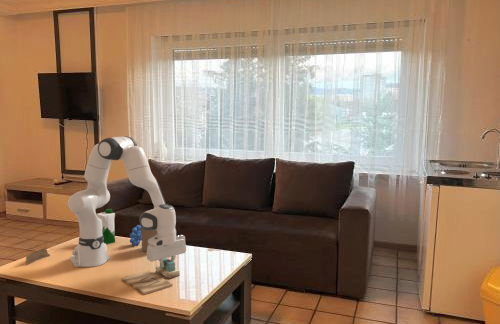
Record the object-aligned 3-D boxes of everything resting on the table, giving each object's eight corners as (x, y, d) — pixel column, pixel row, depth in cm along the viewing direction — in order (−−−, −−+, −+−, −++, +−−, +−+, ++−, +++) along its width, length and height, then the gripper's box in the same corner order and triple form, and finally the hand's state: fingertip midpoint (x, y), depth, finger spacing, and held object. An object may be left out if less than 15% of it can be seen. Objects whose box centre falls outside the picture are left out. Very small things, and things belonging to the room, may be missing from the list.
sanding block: (155, 271, 205) (155, 258, 205) (166, 268, 209) (166, 256, 209) (168, 278, 197) (168, 265, 196) (179, 275, 201) (179, 262, 200)
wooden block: (157, 253, 233) (156, 218, 231) (141, 252, 235) (140, 217, 233) (164, 247, 243) (164, 214, 240) (148, 246, 245) (148, 213, 242)
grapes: (138, 241, 254) (137, 222, 253) (146, 242, 252) (146, 223, 250) (124, 246, 244) (124, 226, 243) (133, 248, 241) (133, 228, 240)
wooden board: (121, 279, 195) (121, 277, 195) (148, 272, 205) (148, 270, 205) (144, 294, 179) (144, 292, 179) (172, 285, 189) (172, 283, 189)
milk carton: (117, 242, 253) (116, 209, 250) (103, 245, 246) (102, 212, 244) (109, 239, 258) (108, 207, 256) (96, 242, 251) (94, 210, 249)
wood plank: (28, 265, 213) (28, 256, 213) (25, 265, 214) (24, 256, 213) (49, 256, 228) (49, 247, 228) (46, 255, 229) (46, 246, 228)
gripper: (181, 232, 210) (181, 259, 212) (144, 240, 196) (145, 269, 198) (188, 235, 206) (188, 262, 207) (151, 243, 192) (152, 272, 193)
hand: (167, 265), depth 203 cm, fingers closed on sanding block, 3 cm apart
